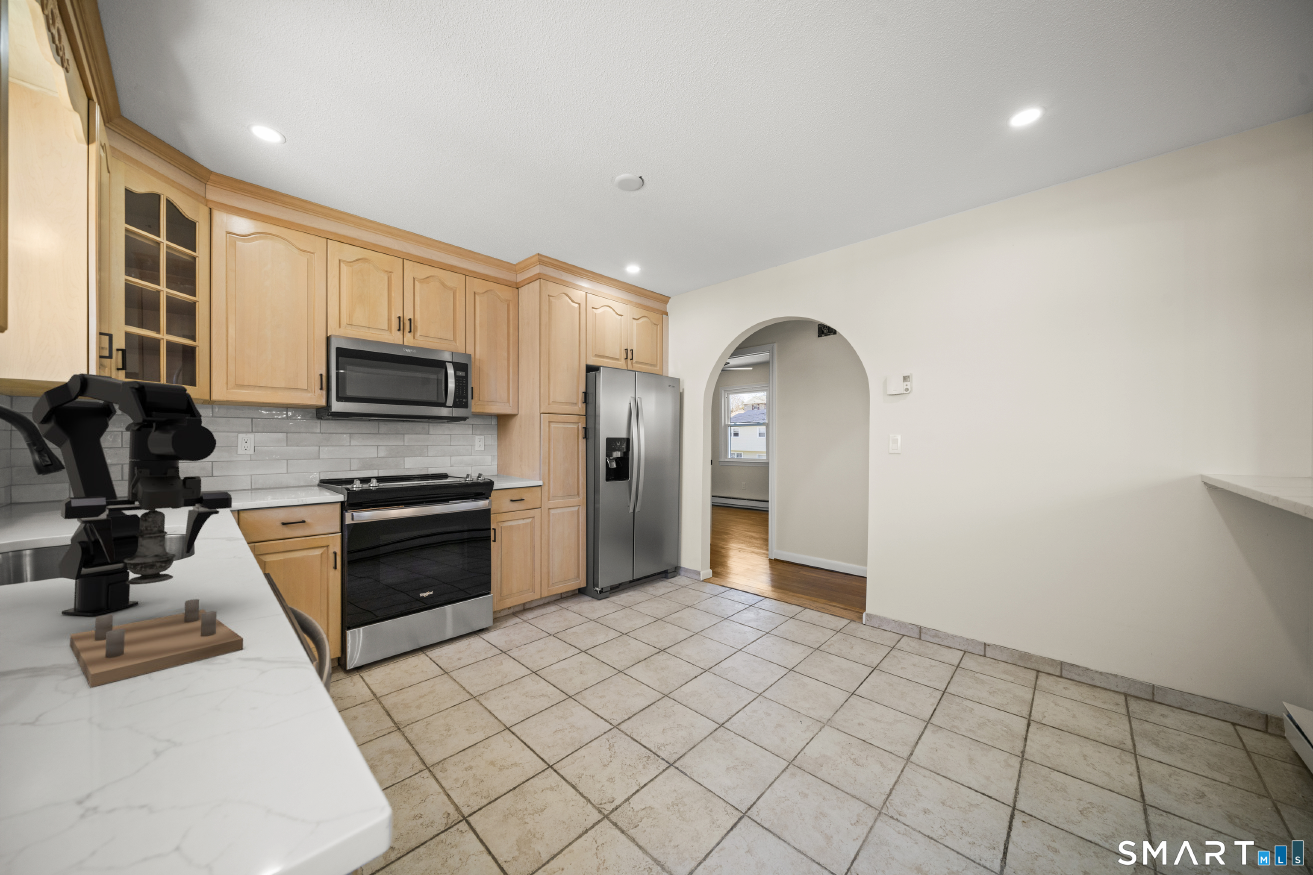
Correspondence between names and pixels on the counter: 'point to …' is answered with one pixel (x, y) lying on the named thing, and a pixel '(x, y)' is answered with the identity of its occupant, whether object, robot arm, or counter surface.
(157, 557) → the dark grey turned piece
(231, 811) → the counter surface
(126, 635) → the peg board
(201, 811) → the counter surface
